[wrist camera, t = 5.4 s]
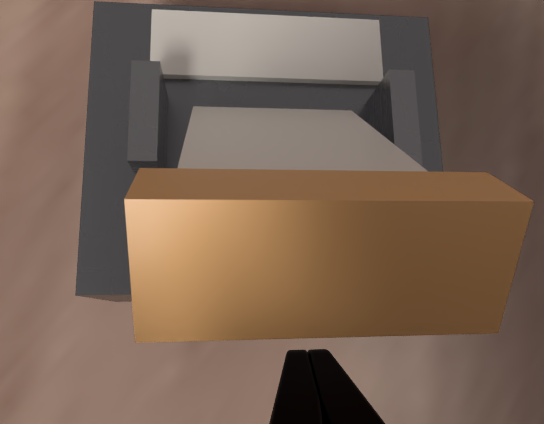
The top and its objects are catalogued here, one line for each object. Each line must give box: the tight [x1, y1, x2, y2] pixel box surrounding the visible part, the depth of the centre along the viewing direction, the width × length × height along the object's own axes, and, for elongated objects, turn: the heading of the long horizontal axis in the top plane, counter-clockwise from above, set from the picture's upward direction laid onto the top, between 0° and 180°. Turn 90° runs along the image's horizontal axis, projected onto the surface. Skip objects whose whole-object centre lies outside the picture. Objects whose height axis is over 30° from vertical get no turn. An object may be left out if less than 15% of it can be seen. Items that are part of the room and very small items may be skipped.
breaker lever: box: [124, 106, 534, 343], centre depth 12 cm, size 2×6×9 cm
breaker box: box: [75, 1, 443, 302], centre depth 18 cm, size 10×12×8 cm
